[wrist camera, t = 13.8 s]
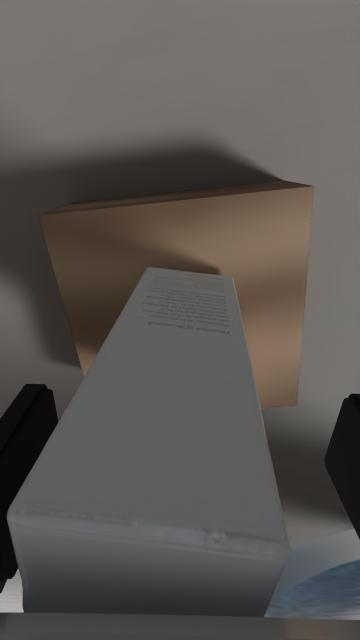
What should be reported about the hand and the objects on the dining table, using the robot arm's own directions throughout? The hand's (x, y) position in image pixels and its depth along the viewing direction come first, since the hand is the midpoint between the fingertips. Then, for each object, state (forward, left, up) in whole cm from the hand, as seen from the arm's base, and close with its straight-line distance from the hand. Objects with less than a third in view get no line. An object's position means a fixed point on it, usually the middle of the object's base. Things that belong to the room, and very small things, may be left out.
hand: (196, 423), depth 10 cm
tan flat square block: (0, 0, -12) cm, 12 cm away
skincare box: (0, 0, -7) cm, 7 cm away
